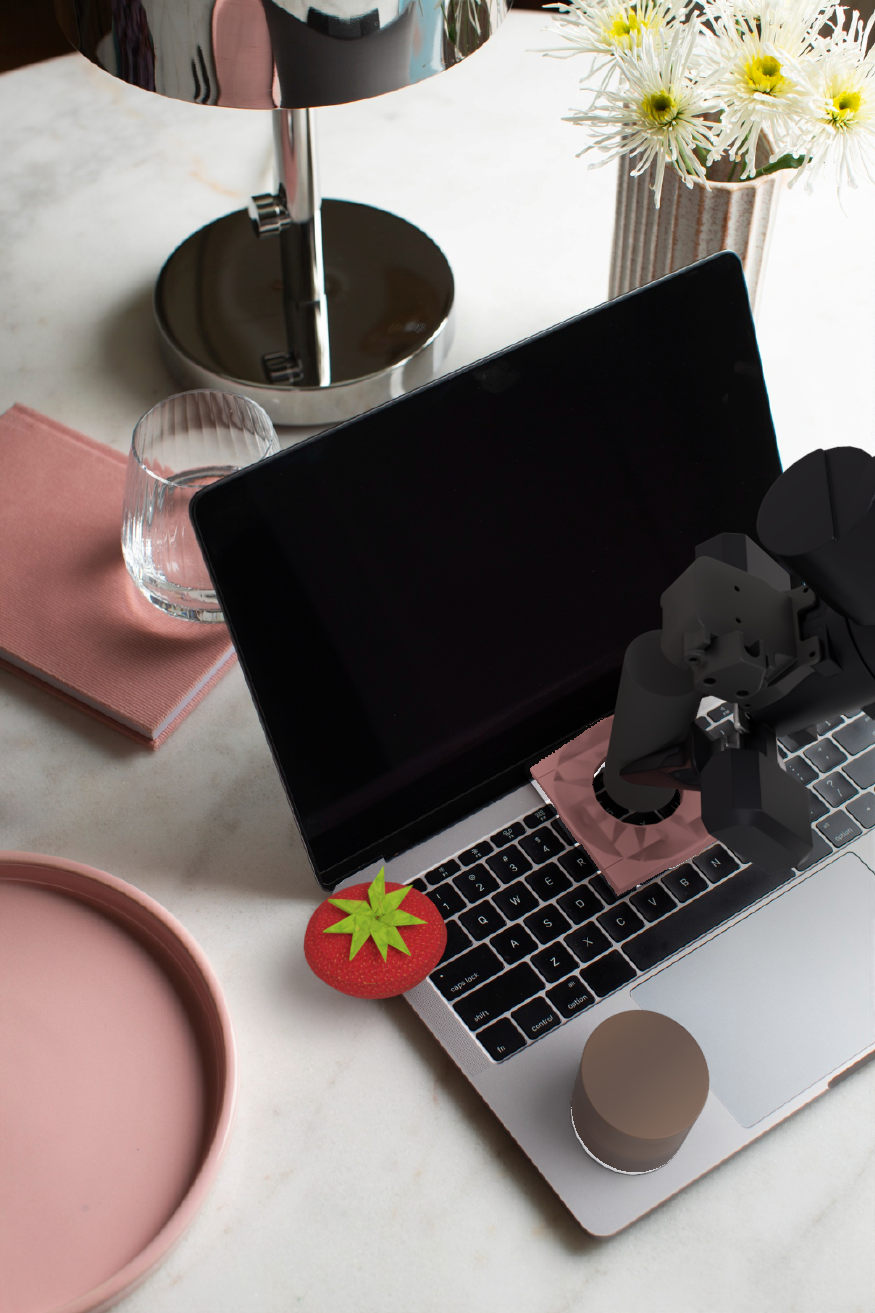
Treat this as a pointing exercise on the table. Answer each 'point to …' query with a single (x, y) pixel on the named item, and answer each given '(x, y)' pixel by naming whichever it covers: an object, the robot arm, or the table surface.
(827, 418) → the table surface
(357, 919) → the strawberry
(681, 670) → the cylindrical post
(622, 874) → the base pad
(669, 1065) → the cylinder
